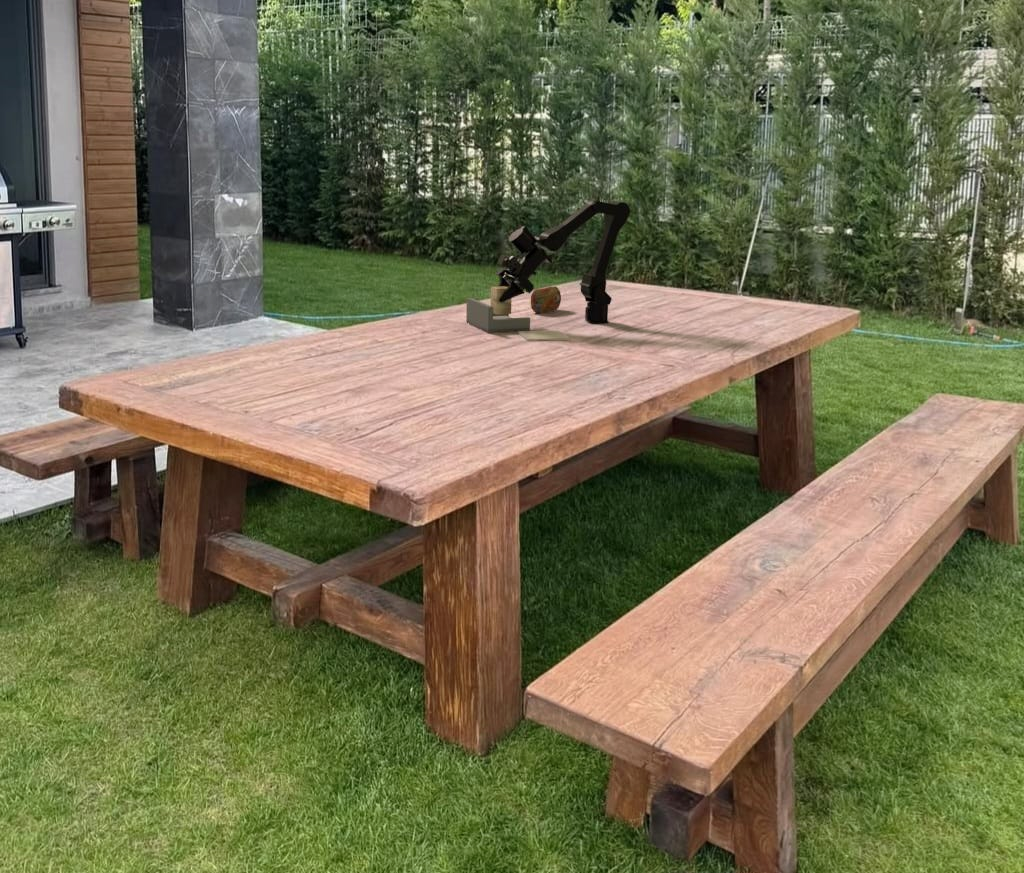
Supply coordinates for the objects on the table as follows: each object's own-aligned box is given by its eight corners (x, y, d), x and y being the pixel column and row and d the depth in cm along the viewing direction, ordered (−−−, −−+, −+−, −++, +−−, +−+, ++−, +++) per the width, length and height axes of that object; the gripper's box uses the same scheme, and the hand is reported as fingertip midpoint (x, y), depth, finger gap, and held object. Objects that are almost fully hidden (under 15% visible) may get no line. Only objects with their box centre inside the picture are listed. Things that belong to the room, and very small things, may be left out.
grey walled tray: (506, 320, 361) (507, 296, 359) (529, 330, 344) (530, 305, 342) (466, 322, 356) (466, 297, 354) (487, 333, 339) (488, 307, 336)
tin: (536, 314, 374) (536, 289, 372) (528, 313, 376) (529, 289, 374) (561, 309, 386) (562, 285, 384) (554, 308, 388) (554, 284, 385)
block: (505, 311, 352) (505, 286, 350) (511, 313, 348) (511, 288, 345) (490, 312, 350) (490, 286, 348) (496, 314, 346) (496, 289, 344)
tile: (558, 332, 343) (558, 330, 342) (569, 340, 330) (569, 338, 330) (517, 333, 340) (517, 331, 340) (527, 341, 328) (527, 339, 327)
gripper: (502, 242, 353) (469, 278, 352) (525, 249, 336) (490, 286, 335) (524, 266, 358) (492, 302, 357) (548, 274, 341) (514, 311, 340)
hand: (496, 300), depth 347 cm, fingers closed on block, 5 cm apart
